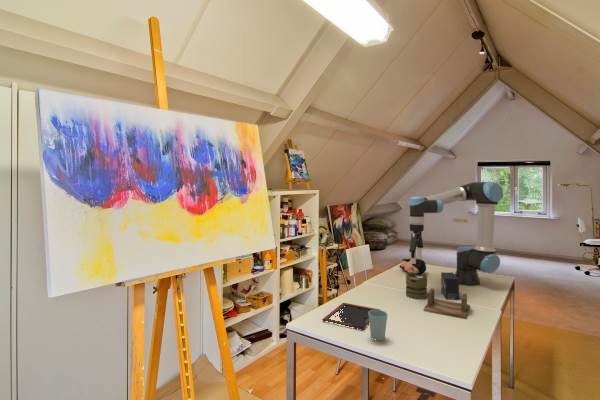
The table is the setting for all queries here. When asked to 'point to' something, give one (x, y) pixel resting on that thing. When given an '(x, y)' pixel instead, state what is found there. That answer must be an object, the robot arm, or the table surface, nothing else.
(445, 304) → the roll stand
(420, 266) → the head
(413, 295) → the piston
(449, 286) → the small box
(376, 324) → the cup
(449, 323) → the table surface
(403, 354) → the table surface
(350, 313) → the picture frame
